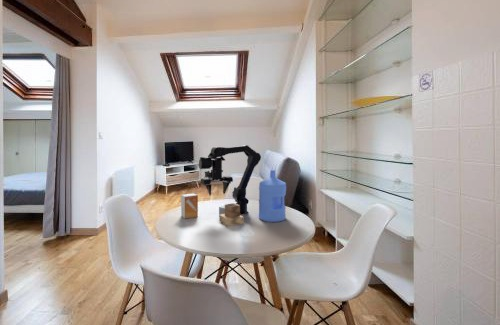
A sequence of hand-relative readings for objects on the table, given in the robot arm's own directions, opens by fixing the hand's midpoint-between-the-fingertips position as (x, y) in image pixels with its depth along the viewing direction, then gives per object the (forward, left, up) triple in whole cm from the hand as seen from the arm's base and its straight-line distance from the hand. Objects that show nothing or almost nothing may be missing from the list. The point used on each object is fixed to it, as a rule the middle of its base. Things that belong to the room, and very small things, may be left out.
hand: (217, 194), depth 151 cm
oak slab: (-2, +14, -14) cm, 20 cm away
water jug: (-25, +21, -13) cm, 35 cm away
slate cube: (-4, +4, -13) cm, 14 cm away
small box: (+14, -8, -13) cm, 21 cm away
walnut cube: (-2, +14, -9) cm, 17 cm away
